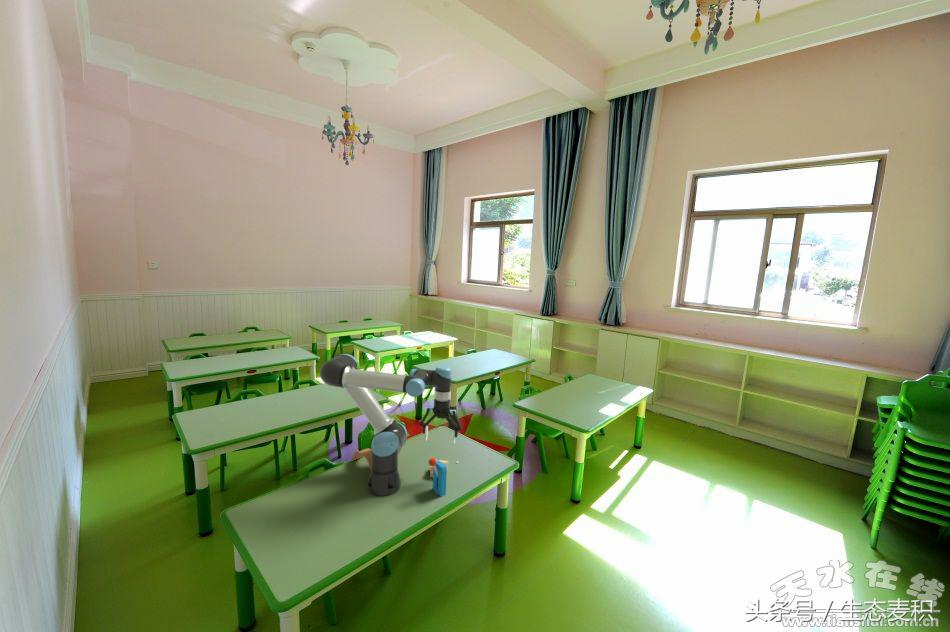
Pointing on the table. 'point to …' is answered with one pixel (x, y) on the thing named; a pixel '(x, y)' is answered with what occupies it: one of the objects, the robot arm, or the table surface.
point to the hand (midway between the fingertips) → (439, 441)
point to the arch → (366, 453)
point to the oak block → (432, 467)
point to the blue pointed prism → (439, 476)
